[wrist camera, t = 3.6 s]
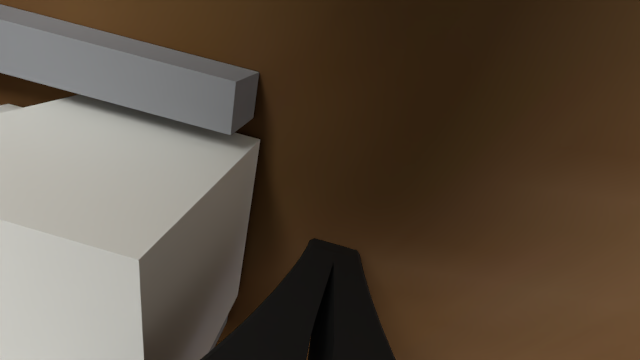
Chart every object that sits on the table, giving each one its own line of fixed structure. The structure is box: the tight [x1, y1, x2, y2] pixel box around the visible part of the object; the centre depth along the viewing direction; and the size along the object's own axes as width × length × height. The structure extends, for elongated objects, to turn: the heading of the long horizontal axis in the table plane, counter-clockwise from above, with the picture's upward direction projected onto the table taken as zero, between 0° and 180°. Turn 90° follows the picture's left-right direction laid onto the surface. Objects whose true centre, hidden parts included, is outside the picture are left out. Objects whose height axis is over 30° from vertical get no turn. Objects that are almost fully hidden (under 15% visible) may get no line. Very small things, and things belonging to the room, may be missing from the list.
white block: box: [0, 94, 260, 360], centre depth 8 cm, size 6×8×5 cm
